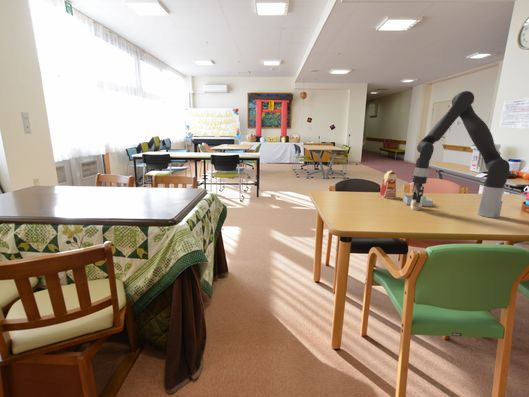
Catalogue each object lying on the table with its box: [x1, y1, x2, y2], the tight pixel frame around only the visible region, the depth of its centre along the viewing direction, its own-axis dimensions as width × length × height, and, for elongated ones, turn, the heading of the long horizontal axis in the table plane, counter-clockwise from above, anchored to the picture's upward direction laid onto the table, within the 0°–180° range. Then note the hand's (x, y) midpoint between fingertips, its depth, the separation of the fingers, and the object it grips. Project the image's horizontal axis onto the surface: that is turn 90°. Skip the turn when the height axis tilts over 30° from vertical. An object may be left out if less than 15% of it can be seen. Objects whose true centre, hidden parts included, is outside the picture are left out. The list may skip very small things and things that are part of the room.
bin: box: [401, 194, 434, 208], centre depth 195 cm, size 15×13×4 cm
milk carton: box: [379, 170, 397, 200], centre depth 210 cm, size 9×9×20 cm
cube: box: [409, 200, 423, 211], centre depth 182 cm, size 5×5×5 cm
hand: (416, 200), depth 182 cm, fingers open, 8 cm apart
